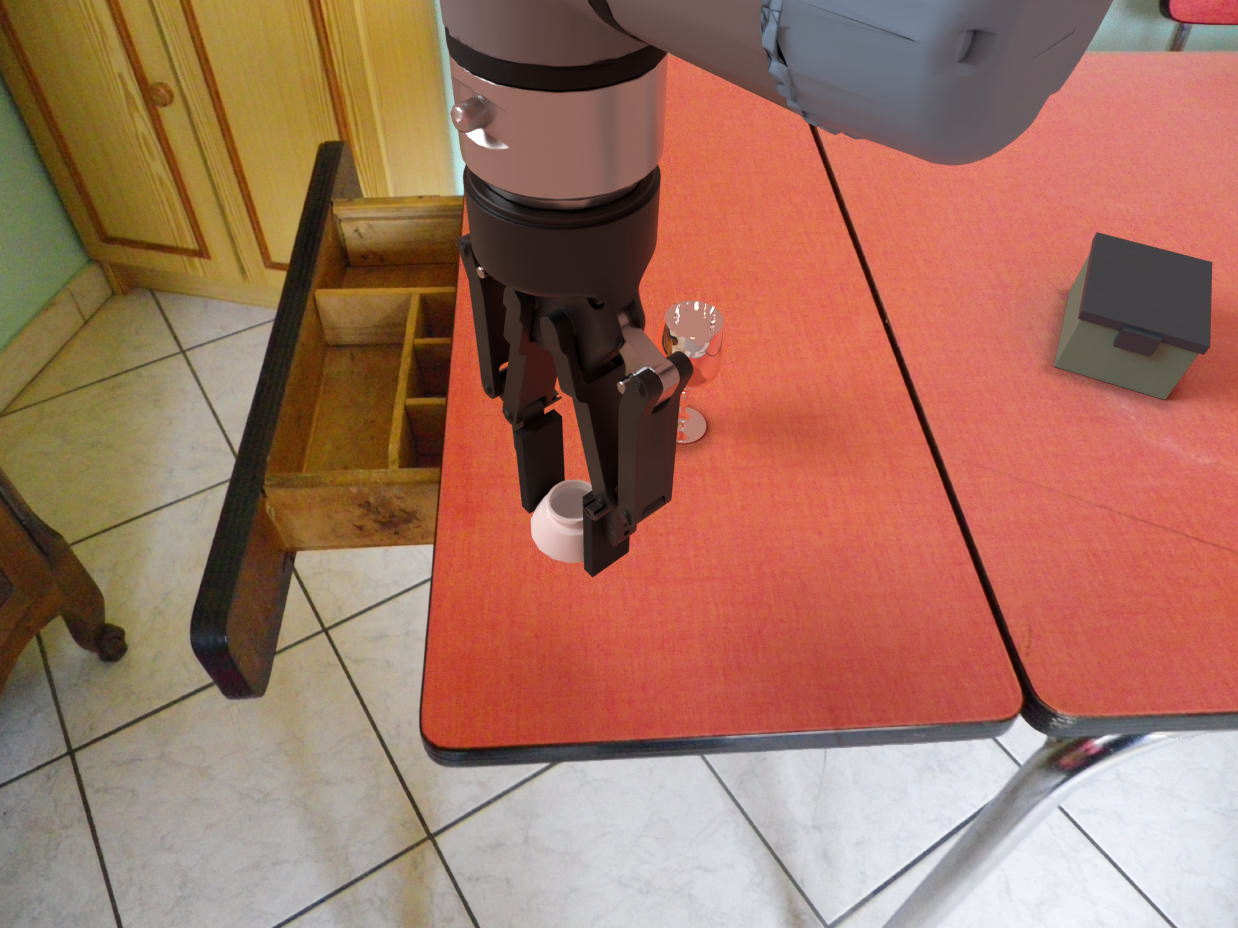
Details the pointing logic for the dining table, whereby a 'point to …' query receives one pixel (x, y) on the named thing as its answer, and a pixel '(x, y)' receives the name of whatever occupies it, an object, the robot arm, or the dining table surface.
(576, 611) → the dining table surface
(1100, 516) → the dining table surface
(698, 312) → the wineglass
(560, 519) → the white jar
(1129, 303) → the box
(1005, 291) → the dining table surface
